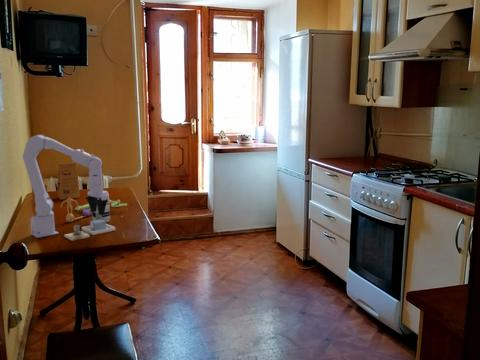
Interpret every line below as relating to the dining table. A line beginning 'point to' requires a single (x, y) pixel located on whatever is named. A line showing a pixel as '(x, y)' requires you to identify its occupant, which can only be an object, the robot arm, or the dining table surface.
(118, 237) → the dining table surface
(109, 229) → the tray
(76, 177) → the coffee package
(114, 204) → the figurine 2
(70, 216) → the figurine
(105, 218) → the supplement can
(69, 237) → the post stand
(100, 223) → the pale blue cube
